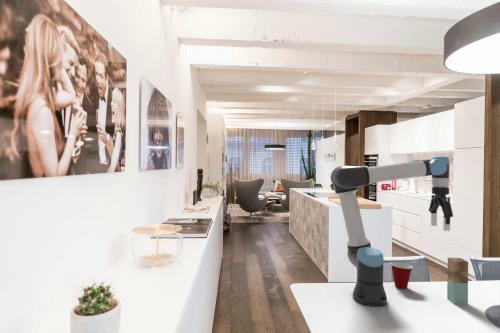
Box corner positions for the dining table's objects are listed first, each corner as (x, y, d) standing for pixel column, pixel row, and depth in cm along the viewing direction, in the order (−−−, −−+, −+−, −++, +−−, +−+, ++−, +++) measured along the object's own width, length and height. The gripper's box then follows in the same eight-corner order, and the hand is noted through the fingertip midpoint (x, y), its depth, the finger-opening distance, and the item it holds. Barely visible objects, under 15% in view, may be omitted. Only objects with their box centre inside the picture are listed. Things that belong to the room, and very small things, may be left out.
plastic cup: (416, 288, 159) (417, 265, 160) (405, 292, 153) (406, 268, 153) (396, 281, 168) (397, 260, 169) (385, 285, 162) (386, 263, 162)
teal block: (453, 304, 141) (454, 282, 141) (447, 298, 147) (447, 278, 147) (467, 305, 140) (468, 283, 140) (460, 299, 146) (460, 279, 146)
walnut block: (453, 282, 141) (454, 261, 141) (447, 278, 147) (447, 257, 147) (468, 283, 140) (468, 261, 140) (460, 279, 146) (461, 258, 146)
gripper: (461, 188, 142) (461, 233, 142) (436, 185, 167) (436, 224, 167) (444, 187, 143) (444, 232, 143) (422, 185, 168) (421, 223, 168)
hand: (439, 228), depth 155 cm, fingers open, 13 cm apart
